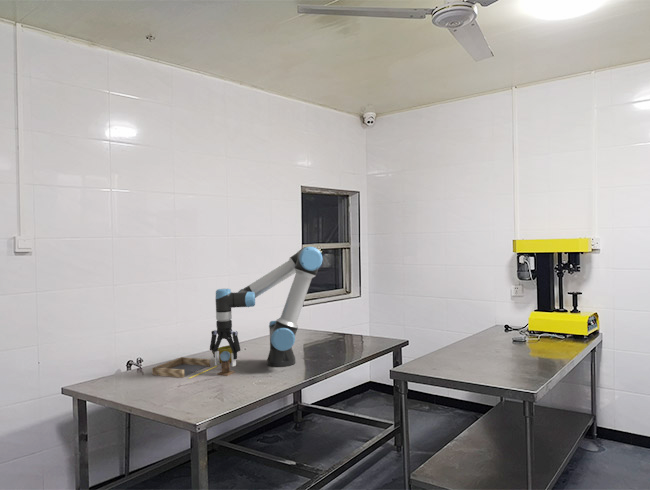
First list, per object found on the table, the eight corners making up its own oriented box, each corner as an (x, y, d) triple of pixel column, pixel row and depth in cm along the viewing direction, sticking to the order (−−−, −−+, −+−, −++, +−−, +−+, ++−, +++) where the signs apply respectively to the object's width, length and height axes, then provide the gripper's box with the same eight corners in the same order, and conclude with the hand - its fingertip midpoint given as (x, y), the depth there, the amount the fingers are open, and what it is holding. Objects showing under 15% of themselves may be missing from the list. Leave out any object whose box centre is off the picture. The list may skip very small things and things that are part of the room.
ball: (232, 360, 247) (232, 350, 247) (226, 362, 242) (226, 352, 242) (223, 359, 249) (223, 349, 249) (218, 362, 244) (217, 352, 244)
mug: (241, 356, 273) (234, 340, 271) (231, 366, 264) (224, 350, 262) (224, 358, 279) (217, 343, 277) (214, 368, 270) (206, 352, 268)
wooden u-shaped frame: (209, 365, 262) (209, 359, 262) (182, 377, 241) (182, 370, 241) (181, 363, 269) (181, 357, 269) (152, 374, 248) (152, 367, 248)
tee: (234, 372, 247) (233, 359, 247) (227, 375, 242) (227, 362, 241) (223, 371, 249) (223, 359, 249) (217, 375, 244) (216, 361, 244)
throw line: (217, 366, 261) (217, 365, 261) (190, 378, 239) (190, 378, 239) (216, 366, 261) (216, 365, 261) (188, 378, 239) (188, 378, 239)
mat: (207, 366, 261) (207, 365, 261) (183, 376, 243) (183, 375, 243) (182, 364, 267) (182, 363, 267) (157, 374, 248) (156, 373, 248)
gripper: (247, 319, 245) (248, 364, 245) (209, 318, 253) (211, 361, 253) (239, 321, 238) (240, 368, 238) (201, 320, 246) (202, 365, 246)
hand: (225, 365), depth 245 cm, fingers open, 9 cm apart
